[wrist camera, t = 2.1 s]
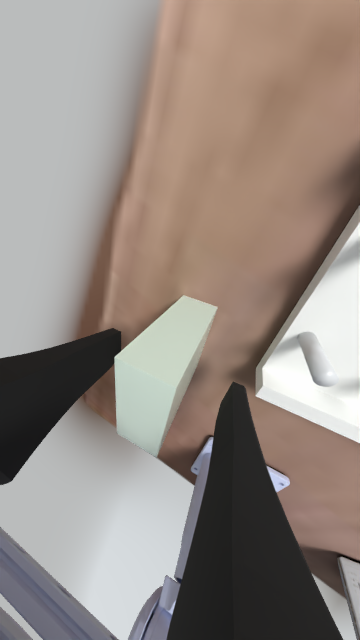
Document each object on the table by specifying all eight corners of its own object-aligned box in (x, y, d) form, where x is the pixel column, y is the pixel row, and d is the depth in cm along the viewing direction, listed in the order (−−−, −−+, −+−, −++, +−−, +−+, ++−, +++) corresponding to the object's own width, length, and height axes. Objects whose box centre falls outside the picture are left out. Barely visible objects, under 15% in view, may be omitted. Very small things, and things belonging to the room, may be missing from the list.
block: (196, 367, 14) (156, 457, 9) (170, 355, 15) (116, 433, 9) (217, 307, 11) (176, 387, 6) (183, 295, 12) (114, 357, 6)
